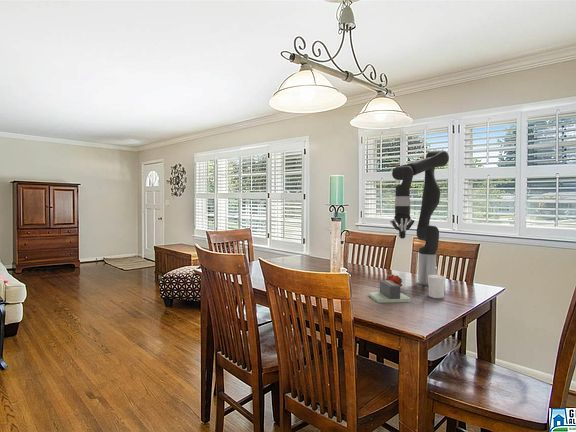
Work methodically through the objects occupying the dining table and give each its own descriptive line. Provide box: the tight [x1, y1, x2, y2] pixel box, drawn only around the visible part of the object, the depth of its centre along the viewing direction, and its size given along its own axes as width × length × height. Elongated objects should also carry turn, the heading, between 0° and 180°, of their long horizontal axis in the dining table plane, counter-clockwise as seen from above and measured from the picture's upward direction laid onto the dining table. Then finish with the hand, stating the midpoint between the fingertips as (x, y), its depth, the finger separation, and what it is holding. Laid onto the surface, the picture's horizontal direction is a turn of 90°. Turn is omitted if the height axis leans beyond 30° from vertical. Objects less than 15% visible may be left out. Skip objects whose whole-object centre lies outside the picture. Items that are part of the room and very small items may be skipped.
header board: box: [368, 291, 412, 304], centre depth 174 cm, size 16×12×4 cm
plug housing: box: [379, 279, 401, 299], centre depth 174 cm, size 5×12×6 cm, turn 8°
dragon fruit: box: [385, 274, 403, 288], centre depth 190 cm, size 8×8×12 cm
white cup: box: [427, 274, 447, 299], centre depth 178 cm, size 8×8×10 cm
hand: (402, 238), depth 189 cm, fingers closed
